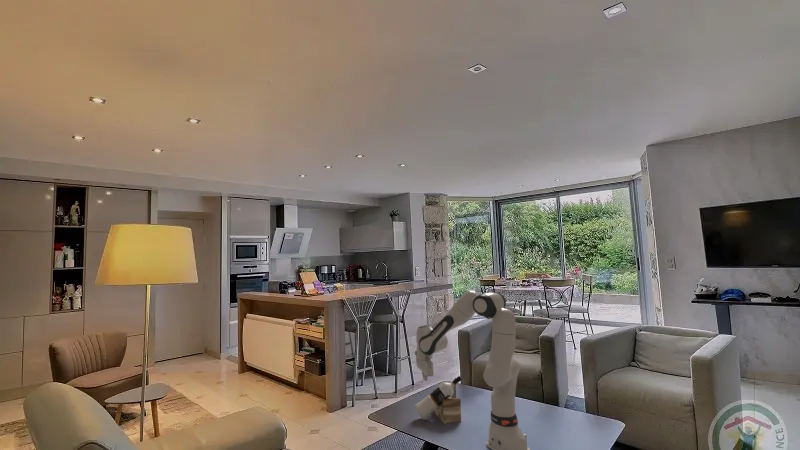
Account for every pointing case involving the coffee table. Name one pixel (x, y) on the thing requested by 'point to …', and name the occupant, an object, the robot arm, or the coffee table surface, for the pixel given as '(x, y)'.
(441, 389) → the vodka
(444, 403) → the cradle
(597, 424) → the coffee table surface
